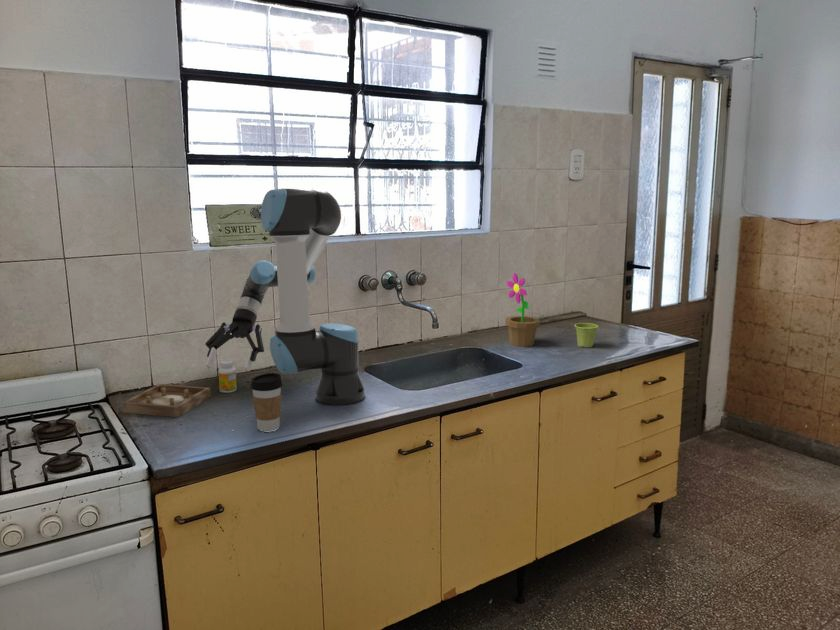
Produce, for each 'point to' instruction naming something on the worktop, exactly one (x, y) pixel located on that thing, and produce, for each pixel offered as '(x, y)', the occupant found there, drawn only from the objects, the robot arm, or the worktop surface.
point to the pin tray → (166, 400)
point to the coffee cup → (267, 400)
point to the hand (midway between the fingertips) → (227, 368)
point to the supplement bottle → (227, 377)
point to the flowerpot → (521, 318)
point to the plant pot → (585, 334)
